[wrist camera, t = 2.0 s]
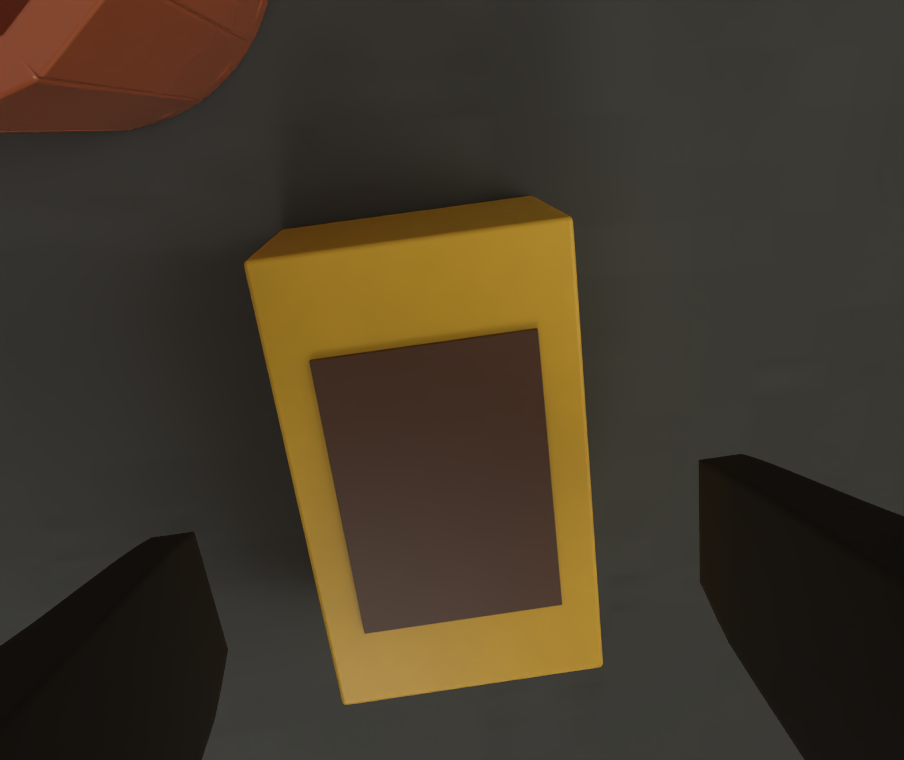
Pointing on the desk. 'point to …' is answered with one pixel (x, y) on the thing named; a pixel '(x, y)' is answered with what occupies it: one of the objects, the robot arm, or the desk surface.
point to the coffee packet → (437, 441)
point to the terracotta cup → (116, 60)
